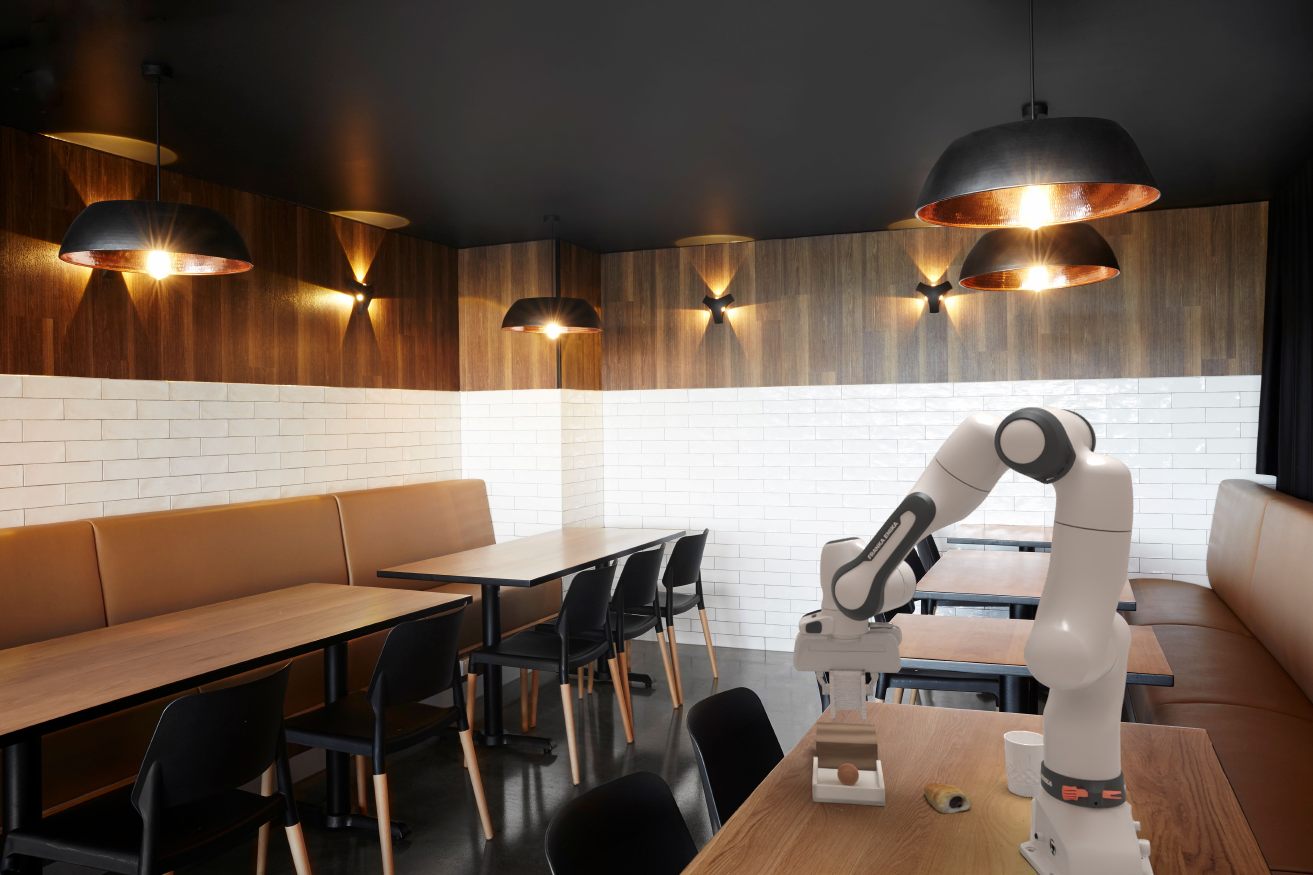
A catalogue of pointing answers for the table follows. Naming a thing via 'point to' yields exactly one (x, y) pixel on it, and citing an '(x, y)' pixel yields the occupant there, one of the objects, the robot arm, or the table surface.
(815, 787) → the tray
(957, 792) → the pastry
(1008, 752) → the white cup
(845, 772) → the ball
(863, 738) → the step block
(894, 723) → the table surface
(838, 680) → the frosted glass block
